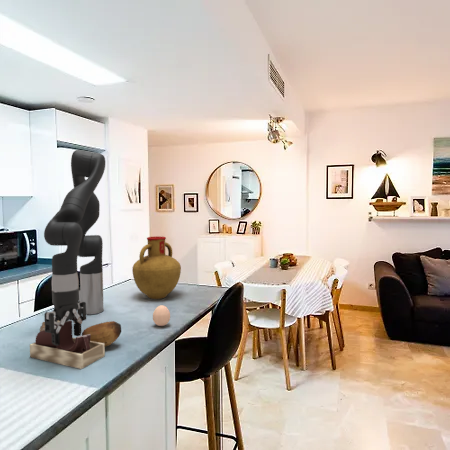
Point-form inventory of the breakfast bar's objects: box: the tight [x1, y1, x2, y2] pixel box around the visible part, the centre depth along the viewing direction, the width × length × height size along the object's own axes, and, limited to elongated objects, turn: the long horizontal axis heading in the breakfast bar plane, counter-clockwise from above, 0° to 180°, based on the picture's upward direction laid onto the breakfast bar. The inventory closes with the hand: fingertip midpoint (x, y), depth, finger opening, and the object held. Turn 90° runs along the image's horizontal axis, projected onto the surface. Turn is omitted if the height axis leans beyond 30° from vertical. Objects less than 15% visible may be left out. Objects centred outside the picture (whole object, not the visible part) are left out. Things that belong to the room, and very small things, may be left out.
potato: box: [81, 320, 122, 348], centre depth 122 cm, size 8×14×8 cm
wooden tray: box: [29, 337, 106, 370], centre depth 114 cm, size 21×10×4 cm, turn 67°
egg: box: [152, 304, 171, 327], centre depth 142 cm, size 7×7×8 cm
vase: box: [131, 235, 182, 300], centre depth 185 cm, size 24×24×30 cm
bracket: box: [34, 320, 91, 354], centre depth 114 cm, size 6×17×10 cm, turn 72°
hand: (67, 340), depth 114 cm, fingers open, 7 cm apart
